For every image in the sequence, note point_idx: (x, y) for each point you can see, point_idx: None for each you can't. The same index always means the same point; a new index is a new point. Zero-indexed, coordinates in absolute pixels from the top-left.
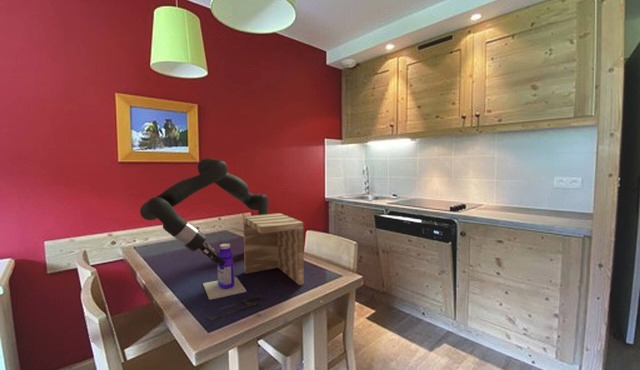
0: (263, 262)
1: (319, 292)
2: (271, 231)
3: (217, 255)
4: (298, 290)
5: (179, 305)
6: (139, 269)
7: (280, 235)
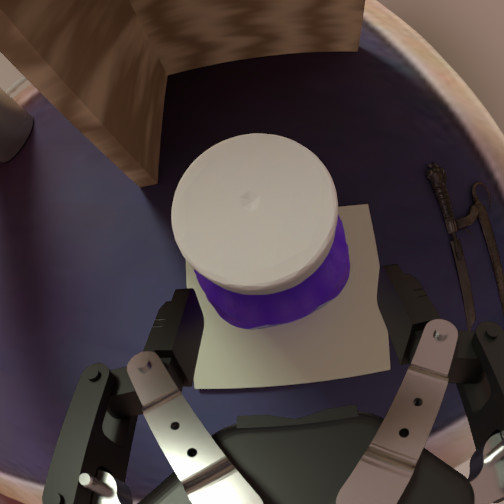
0: (149, 96)
1: (412, 39)
2: None
3: (497, 333)
4: (394, 64)
5: None
6: (20, 499)
7: None
